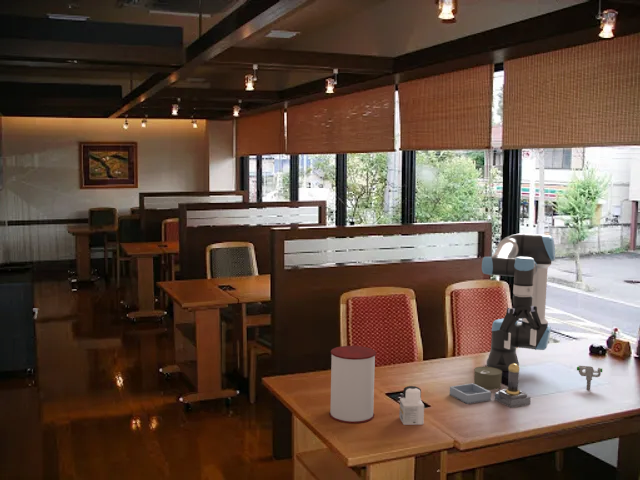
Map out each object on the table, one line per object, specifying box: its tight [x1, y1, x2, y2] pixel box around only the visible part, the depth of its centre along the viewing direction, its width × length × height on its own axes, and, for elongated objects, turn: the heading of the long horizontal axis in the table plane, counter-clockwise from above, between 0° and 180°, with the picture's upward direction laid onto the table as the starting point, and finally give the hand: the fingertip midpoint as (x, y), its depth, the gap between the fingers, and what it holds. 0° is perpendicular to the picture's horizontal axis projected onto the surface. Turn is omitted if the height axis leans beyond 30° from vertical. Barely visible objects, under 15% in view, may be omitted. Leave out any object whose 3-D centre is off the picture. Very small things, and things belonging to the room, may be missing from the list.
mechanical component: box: [576, 365, 603, 391], centre depth 298 cm, size 3×10×10 cm, turn 79°
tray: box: [449, 382, 492, 405], centre depth 285 cm, size 12×12×4 cm
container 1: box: [328, 345, 377, 424], centre depth 262 cm, size 17×17×25 cm
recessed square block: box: [494, 388, 532, 409], centre depth 280 cm, size 10×10×4 cm
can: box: [473, 366, 503, 391], centre depth 301 cm, size 12×12×7 cm
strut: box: [505, 363, 521, 395], centre depth 280 cm, size 5×5×13 cm
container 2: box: [398, 385, 425, 426], centre depth 257 cm, size 8×8×13 cm
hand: (520, 346), depth 278 cm, fingers open, 13 cm apart
